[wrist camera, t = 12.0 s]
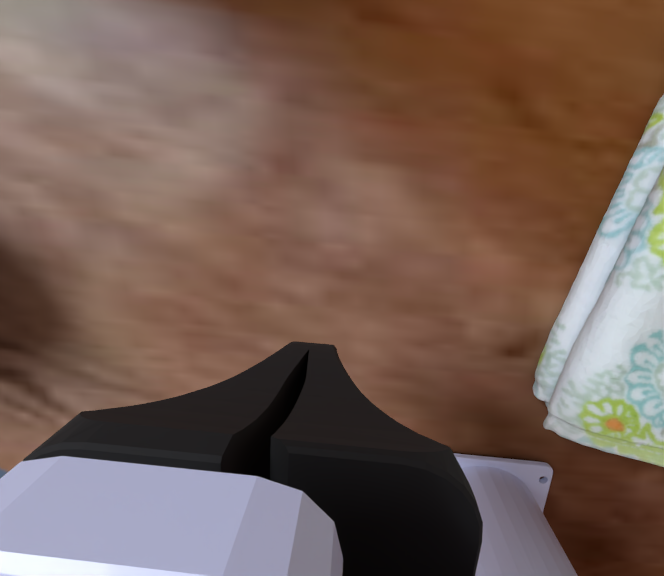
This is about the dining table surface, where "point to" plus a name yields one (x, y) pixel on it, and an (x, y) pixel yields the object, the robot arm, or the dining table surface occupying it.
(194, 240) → the dining table surface
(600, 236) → the towel
